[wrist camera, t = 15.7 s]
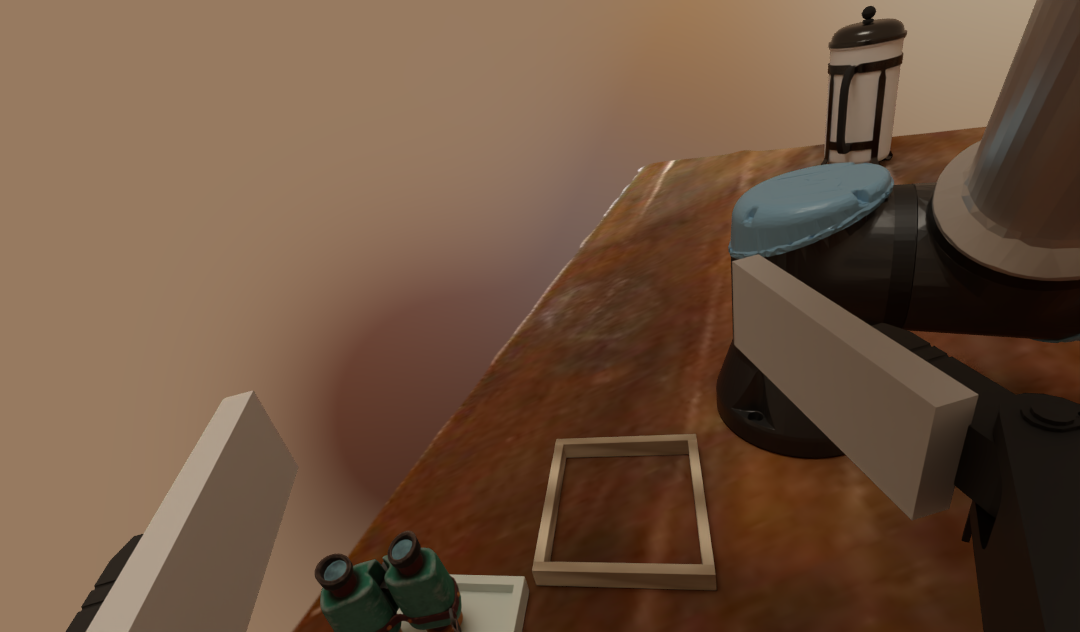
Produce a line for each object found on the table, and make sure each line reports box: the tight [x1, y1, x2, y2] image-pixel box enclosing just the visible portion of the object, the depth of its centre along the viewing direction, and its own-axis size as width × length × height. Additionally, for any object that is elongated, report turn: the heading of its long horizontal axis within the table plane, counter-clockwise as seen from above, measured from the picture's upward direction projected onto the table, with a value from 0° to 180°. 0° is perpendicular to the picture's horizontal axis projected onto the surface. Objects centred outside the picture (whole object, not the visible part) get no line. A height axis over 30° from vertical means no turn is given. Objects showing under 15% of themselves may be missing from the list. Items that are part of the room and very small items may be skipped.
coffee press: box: [821, 6, 907, 165], centre depth 104 cm, size 17×16×30 cm
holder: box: [532, 434, 716, 590], centre depth 46 cm, size 15×14×2 cm
